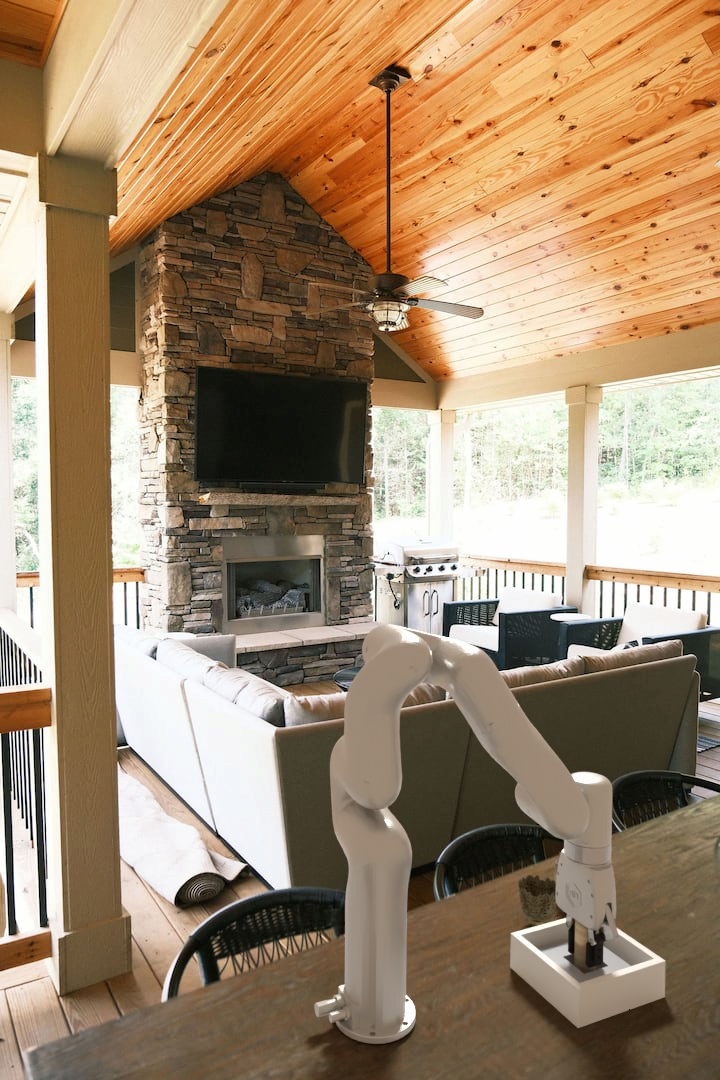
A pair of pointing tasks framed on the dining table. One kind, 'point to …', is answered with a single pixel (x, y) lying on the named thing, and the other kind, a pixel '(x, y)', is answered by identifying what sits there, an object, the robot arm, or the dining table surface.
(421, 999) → the dining table surface
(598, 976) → the box
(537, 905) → the cup
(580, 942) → the peg
